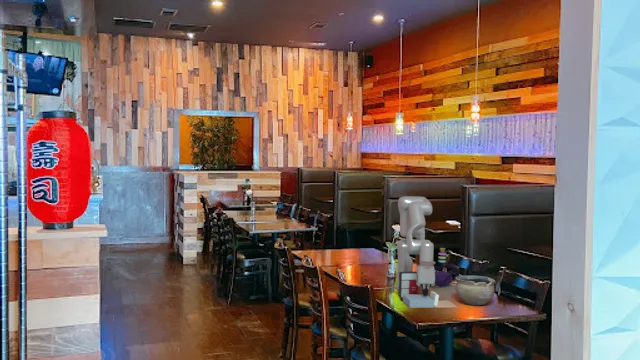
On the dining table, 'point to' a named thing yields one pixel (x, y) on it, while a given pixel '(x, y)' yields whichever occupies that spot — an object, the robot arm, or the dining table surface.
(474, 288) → the ceramic bowl
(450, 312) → the dining table surface
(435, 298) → the tile
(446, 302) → the mat
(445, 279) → the decorative bottle
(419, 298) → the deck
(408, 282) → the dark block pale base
